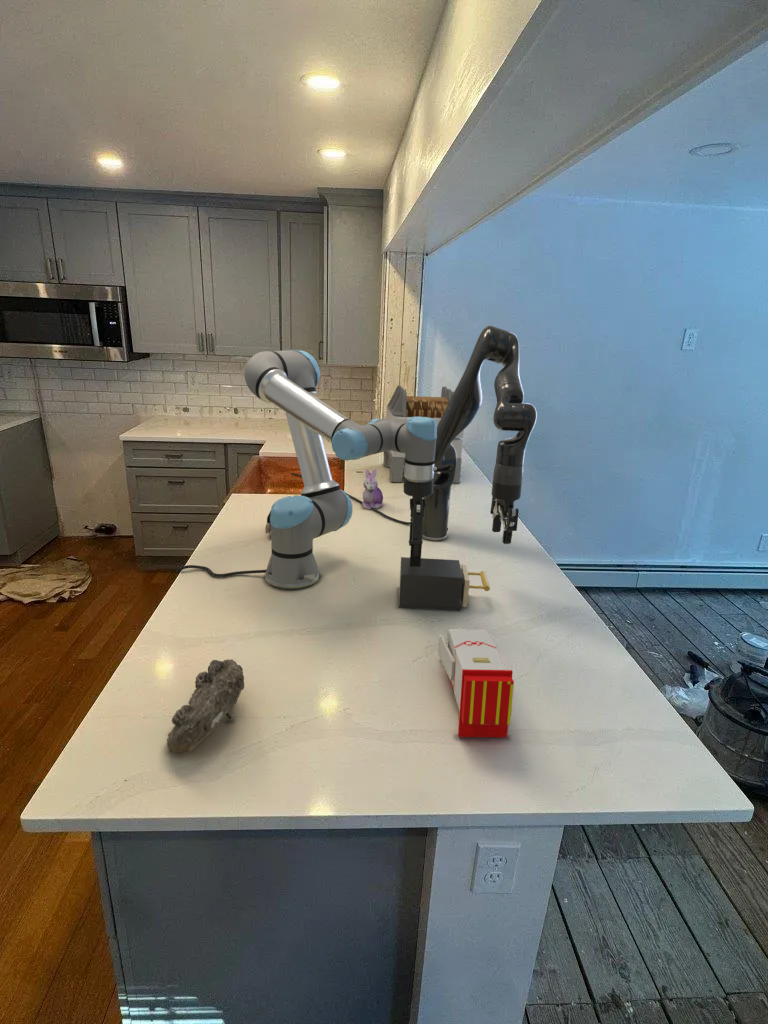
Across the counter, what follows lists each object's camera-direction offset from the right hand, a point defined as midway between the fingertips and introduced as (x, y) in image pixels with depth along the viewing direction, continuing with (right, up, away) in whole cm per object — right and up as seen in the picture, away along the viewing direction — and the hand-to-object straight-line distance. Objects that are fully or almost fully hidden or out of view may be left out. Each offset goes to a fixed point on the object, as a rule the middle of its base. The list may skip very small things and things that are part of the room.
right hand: (501, 537), depth 153 cm
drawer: (-14, -16, +2) cm, 22 cm away
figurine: (-36, +9, +73) cm, 82 cm away
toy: (-14, -31, -35) cm, 48 cm away
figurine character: (-68, 0, +43) cm, 81 cm away
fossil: (-64, -32, -45) cm, 85 cm away
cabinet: (-19, -17, +2) cm, 26 cm away
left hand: (-24, -5, -2) cm, 24 cm away
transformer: (-14, +26, +122) cm, 125 cm away
